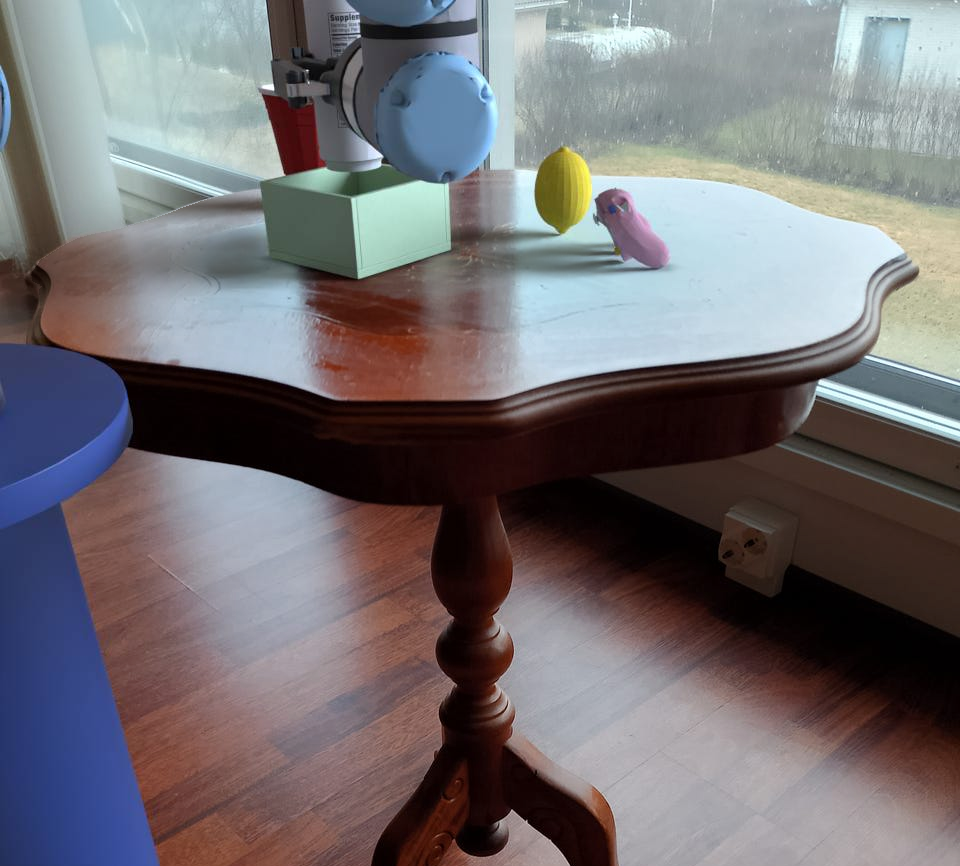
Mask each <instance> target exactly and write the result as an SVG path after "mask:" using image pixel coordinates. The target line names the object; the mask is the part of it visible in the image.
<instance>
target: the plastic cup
mask: <svg viewBox="0 0 960 866" xmlns="http://www.w3.org/2000/svg"><path fill="white" fill-rule="evenodd" d="M257 90H258V93H260V94H261V97H262V100H263V102H264V106H265V109H266V112H267V116H268V120H269V122H270V125H271V129H272V133H273V137H274V140H275V145H276V148H277V153H278V156H279V159H280V164H281V167H282V171H283V174H284V176H286V175H291V174H295V173H300V172H304V171H309V170H313V169H318V168H322V167H327V165H326V162H325V161H323V160H322V159H321V158H320V155H319V145H318V136H317V126H316V117H315V108H314V98H313V96H312V104H311V105H305V106H304V107H301V108H300V109H294V108H289V102H288V101H287V100H285V99H283V98H282V97H280V96H278V95H277V94H275V92H274V85H273V83H270V84H262V85H259V86H257Z"/></svg>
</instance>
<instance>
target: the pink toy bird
mask: <svg viewBox="0 0 960 866" xmlns="http://www.w3.org/2000/svg"><path fill="white" fill-rule="evenodd" d="M593 200H594V203H595V209H596V213H595V212H594V213H592V220H593V222H594V224H596V225H597V226H598V227H599V226H600V224H601V225H603V226H604V227H605V228H606V230H607V231H608V233H609V235H610V238H611V240H612V242H613V244H614V246H615V247H614V248H613V252H614V254H615V255H616V256H617V257H618V256H620V257H621V259H622V261H623V262H624V263H626V262H627V261H629V260H631V259H634V260H636V261H637V262H639V263H641V264H643V265H645V266H646V267H650V268H653V269H662V268H664V267H666V266H667V265H668V264H669V262H670V259H671V255H670V254H671V252H670V249H669V247H668V246H667V244H666V242H665V241H664V240H662V239H661V238H660V237H659V236H658V235H657V234H656V233H654V232H653V227H652V226H651V224H650V222H649V220H647V219H646V217H645V216H643V215H642V214H641V213H640V212H638V211H637V209H636V207H635V200H634V197H633V196H632V195H631V193H630V192H628V191H627V190H624V189H621V188H617V187H614V188H609V189H606V190H604V191H602V192H600V193H599V194H598V195H597V196H596V198H594V199H593Z"/></svg>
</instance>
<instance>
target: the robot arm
mask: <svg viewBox="0 0 960 866" xmlns="http://www.w3.org/2000/svg"><path fill="white" fill-rule="evenodd" d="M345 1H346V2H347V3H348V4H349V5H350V6H351V7H352V8H353V9H354V10H356V11H357V12H358V13H359V17H360V35H361V37H359V38H357V39H356V40H354V41H353V42H352V43H351V44H350V45H349V46H348V47H347V48H346V49H345V50H344V51H343V53H342V54H341V56H340V57H333V58H327V60H326V61H323V60H317V59H312V54H311V53H309V51H308V50H306V49H305V48H304V46H295V47H290V48H289V54H290V59H289V60H286V59H282V58H281V57H275V58H272V60H270V67H271V69H270V70H271V76H272V84H273V85H274V92H275V94H277V95H278V96H280V97H282V98H283V99H285V100H287V101H288V102H289V108H294V109H300V108H301V107H304V106H305V105H311V104H312V96H321V97H322V99H323V101H324V102H325V103H327V104H330V105H333V106H335V108H336V110H337V112H338V114H339V115H340V117H341V119H342V120H343V122H344V123H345V124H346V126H347V127H348V128H349V129H350V130H351V131H352V132H354V133H355V134H356V135H357V136H359V137H360V138H361V139H363V140H364V141H365V142H367V143H368V144H370V145H371V146H373V147H374V149H375V150H377V151H378V152H379V153H380V154H381V155H382V156H384V157H383V159H385V161H386V162H387V163H388V165H391V166H392V167H395V168H396V170H397V171H399V172H401V173H403V174H405V175H406V176H410V177H413V178H415V179H417V180H421V181H424V182H428V183H435V184H446V183H448V184H449V183H453V182H454V183H455V182H457V181H460V180H462V179H464V178H466V177H467V176H469V175H470V174H472V173H473V172H474V171H476V170H477V169H478V168H479V167H480V166H481V165H482V163H483V162H484V161H485V159H486V158H487V157H488V155H489V154H490V152H491V150H492V147H493V145H494V142H495V139H496V136H497V132H498V131H497V130H498V121H499V115H498V113H499V111H498V106H497V100H496V98H495V94H494V92H493V90H492V87H491V86H490V84H489V82H488V81H487V79H486V78H485V76H484V75H483V74H482V71H481V69H480V50H479V49H480V48H479V29H478V18H477V0H345ZM10 95H11V94H10V90H9V85H8V83H7V79H6V76H5V72H4V70H3V68H2V66H1V65H0V154H1V153H2V151H3V149H4V147H5V145H6V142H7V139H8V137H9V132H10V128H11V127H10V126H11V119H12V105H11V96H10ZM5 406H6V401H5V397H4V393H3V390H2V386H1V383H0V416H1V415H2V413H3V412H4V409H5Z"/></svg>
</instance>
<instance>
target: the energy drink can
mask: <svg viewBox="0 0 960 866" xmlns="http://www.w3.org/2000/svg"><path fill="white" fill-rule="evenodd" d="M302 2H303V3H302V4H303V13H304V21H305V22H304V23H305V30H306V31H305V32H306V40H307V51H308V52H309V53H311V54H312V59H317V60H323V61H326V60H327V58H333V57H340V56H341V54H342V53H343V51H344V50H345V49H346V48H347V47H348V46H349V45H350V44H351V43H352V42H353V41H354V40H356V39H357V38H359V37H361V35H360V17H359V13H358V12H357V11H356V10H354V9H353V8H352V7H351V6H350V5H349V4H348V3H347V2H346V1H345V0H302ZM313 98H314V108H315V117H316V126H317V136H318V145H319V155H320V158H321V159H322V160H323V161H325V162H326V165H327V169H328V170H331V171H336V172H360V171H368V170H373V169H376V168H379V167H380V166H381V164H382V160H383V159H384V156H382V155H381V154H380V153H379V152H378V151H377V150H375V149H374V147H373V146H371V145H370V144H368V143H367V142H365V141H364V140H363V139H361V138H360V137H359V136H357V135H356V134H355V133H354V132H352V131H351V130H350V129H349V128H348V127H347V126H346V124H345V123H344V122H343V120H342V119H341V117H340V115H339V114H338V112H337V110H336V108H335V106H333V105H330V104H327V103H325V102H324V101H323V99H322V97H321V96H313Z"/></svg>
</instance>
